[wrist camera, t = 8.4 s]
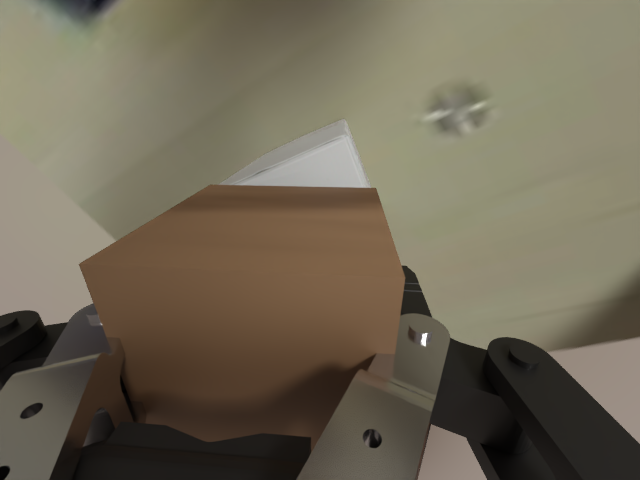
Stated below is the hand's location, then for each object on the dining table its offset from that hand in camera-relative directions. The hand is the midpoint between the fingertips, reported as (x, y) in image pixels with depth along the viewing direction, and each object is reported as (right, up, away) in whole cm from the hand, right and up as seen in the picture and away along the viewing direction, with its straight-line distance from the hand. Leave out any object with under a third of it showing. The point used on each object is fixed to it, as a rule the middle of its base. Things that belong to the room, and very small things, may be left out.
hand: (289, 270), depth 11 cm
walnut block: (0, 0, +1) cm, 1 cm away
